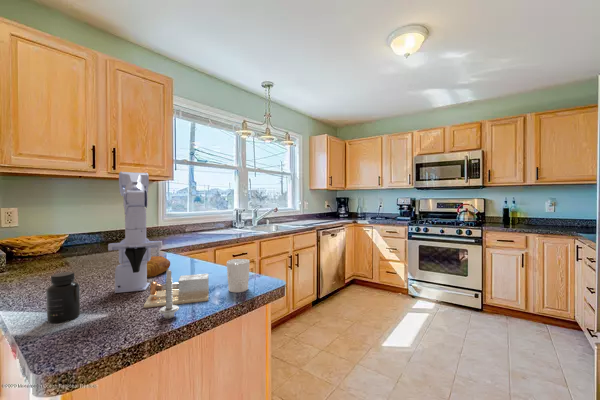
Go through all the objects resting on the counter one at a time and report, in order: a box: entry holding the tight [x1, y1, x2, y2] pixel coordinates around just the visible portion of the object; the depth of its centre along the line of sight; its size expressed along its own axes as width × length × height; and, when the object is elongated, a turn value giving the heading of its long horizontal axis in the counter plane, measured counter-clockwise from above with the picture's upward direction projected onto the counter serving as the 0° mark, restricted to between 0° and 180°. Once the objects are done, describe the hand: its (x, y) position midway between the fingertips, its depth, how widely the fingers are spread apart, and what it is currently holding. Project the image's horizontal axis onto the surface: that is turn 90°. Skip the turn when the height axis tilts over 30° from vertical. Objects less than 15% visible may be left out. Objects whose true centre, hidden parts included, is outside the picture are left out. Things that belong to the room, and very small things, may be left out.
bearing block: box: [143, 273, 210, 309], centre depth 91 cm, size 18×14×6 cm
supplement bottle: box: [46, 271, 81, 324], centre depth 75 cm, size 7×7×12 cm
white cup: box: [226, 258, 251, 293], centre depth 98 cm, size 8×8×10 cm
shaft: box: [149, 281, 179, 295], centre depth 90 cm, size 11×4×4 cm, turn 108°
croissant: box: [147, 255, 171, 278], centre depth 121 cm, size 14×16×8 cm
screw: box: [158, 268, 180, 320], centre depth 75 cm, size 13×5×5 cm
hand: (136, 271), depth 87 cm, fingers closed
